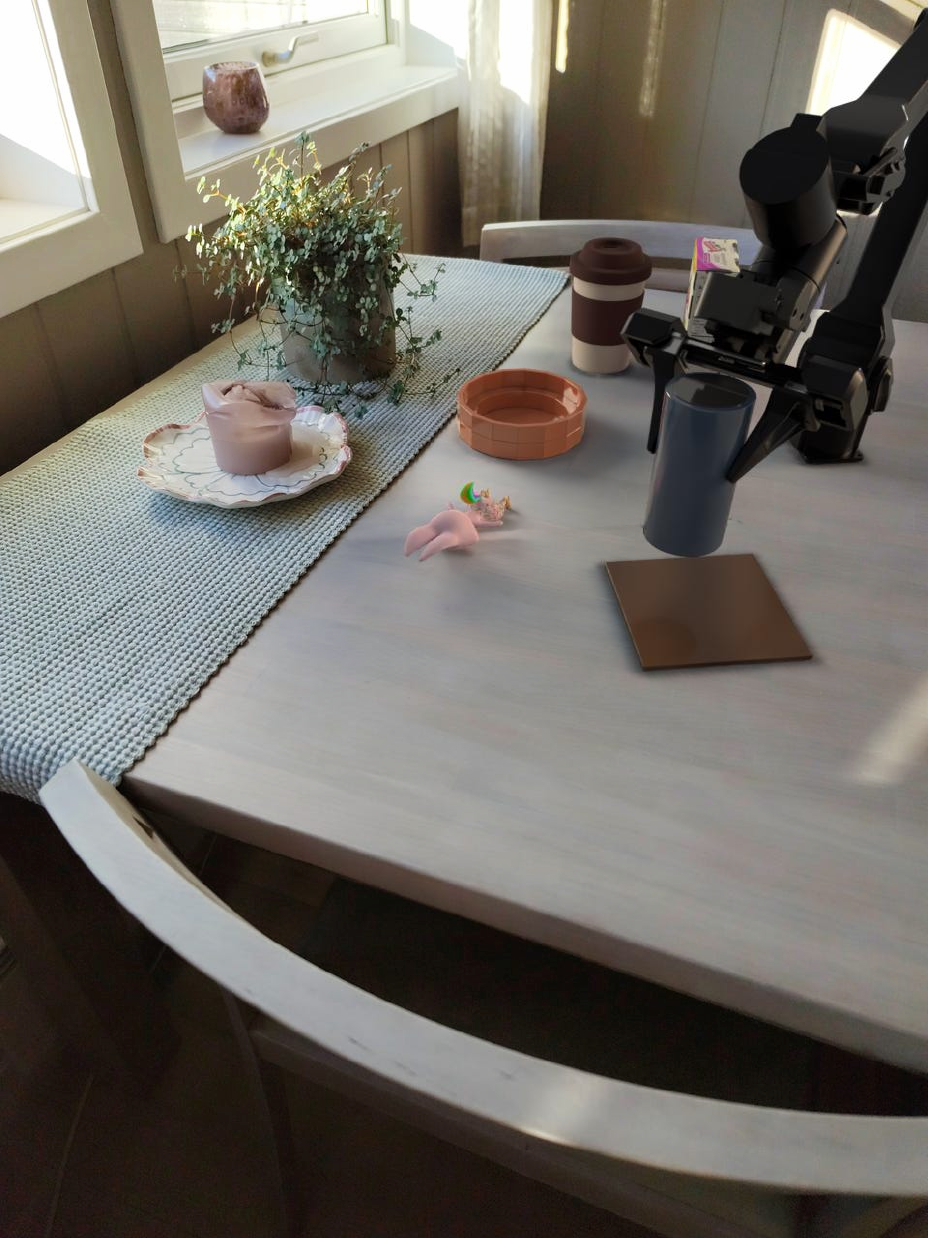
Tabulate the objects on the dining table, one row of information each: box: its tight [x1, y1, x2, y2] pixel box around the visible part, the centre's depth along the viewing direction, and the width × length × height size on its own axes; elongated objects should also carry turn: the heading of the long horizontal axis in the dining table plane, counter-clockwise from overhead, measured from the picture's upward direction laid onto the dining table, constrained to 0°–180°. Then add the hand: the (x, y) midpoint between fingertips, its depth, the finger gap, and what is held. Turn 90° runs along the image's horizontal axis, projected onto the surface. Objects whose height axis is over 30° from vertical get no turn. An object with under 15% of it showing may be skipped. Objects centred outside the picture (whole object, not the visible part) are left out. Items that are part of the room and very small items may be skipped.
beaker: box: [642, 372, 757, 558], centre depth 68 cm, size 7×7×13 cm
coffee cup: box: [568, 236, 654, 375], centre depth 108 cm, size 10×10×15 cm
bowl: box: [456, 367, 588, 461], centre depth 98 cm, size 14×14×4 cm
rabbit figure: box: [404, 481, 512, 563], centre depth 81 cm, size 6×6×15 cm
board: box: [604, 553, 814, 672], centre depth 75 cm, size 14×14×1 cm
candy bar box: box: [682, 236, 741, 374], centre depth 102 cm, size 11×5×16 cm, turn 168°
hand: (688, 466), depth 67 cm, fingers closed on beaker, 6 cm apart
